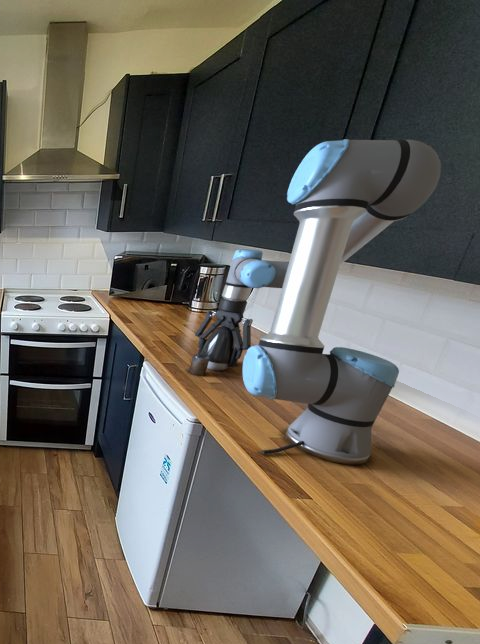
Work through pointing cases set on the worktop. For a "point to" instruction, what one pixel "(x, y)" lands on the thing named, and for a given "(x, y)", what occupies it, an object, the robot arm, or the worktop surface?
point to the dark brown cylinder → (199, 364)
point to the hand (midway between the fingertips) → (215, 361)
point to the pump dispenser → (219, 348)
